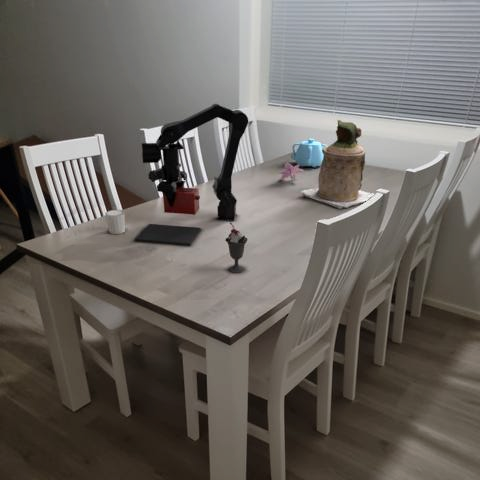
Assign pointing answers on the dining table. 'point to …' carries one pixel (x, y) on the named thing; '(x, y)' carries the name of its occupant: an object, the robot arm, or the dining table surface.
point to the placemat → (168, 234)
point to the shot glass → (116, 221)
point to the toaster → (183, 201)
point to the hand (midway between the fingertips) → (174, 203)
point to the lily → (290, 171)
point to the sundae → (236, 248)
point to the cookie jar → (341, 170)
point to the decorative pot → (308, 153)
